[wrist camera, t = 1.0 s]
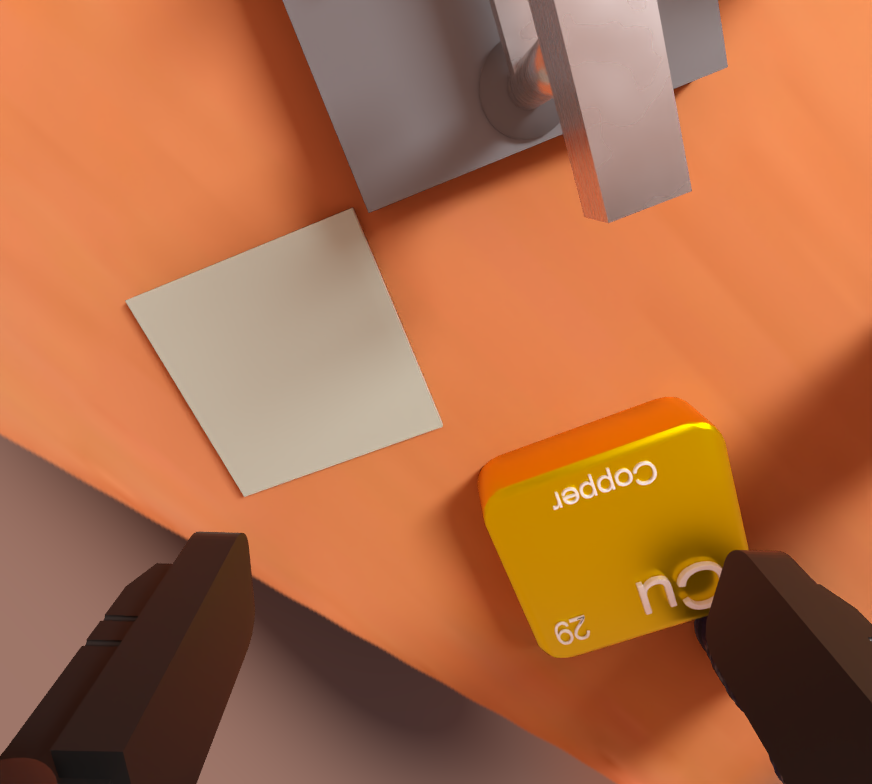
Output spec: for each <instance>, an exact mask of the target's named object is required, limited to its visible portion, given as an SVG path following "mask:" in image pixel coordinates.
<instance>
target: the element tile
mask: <svg viewBox="0 0 872 784" xmlns="http://www.w3.org/2000/svg"><path fill="white" fill-rule="evenodd" d="M477 486H478V491H479V497H480V502H481V508H482V514H483V519H484V523H485V526H486V528H487V530H488V533H489V535H490V537H491V539H492V542H493V544H494V546H495V548H496V551H497V553H498V555H499V557H500V560H501V562H502V564H503V567H504V569H505V571H506V573H507V576H508V578H509V580H510V582H511V585H512V587H513V589H514V591H515V594H516V596H517V598H518V600H519V603H520V605H521V607H522V610H523V612H524V614H525V616H526V619H527V621H528V623H529V625H530V628H531V630H532V632H533V634H534V637H535V639H536V641H537V643H538V645H539V647H540V648H541V649H542V650H543V651H544V652H546V653H547V654H548V655H550V656H553V657H555V658H569V657H575V656H579V655H582V654H585V653H588V652H592V651H595V650H598V649H601V648H605V647H608V646H611V645H614V644H618V643H621V642H624V641H627V640H631V639H634V638H637V637H640V636H644V635H647V634H650V633H653V632H657V631H660V630H663V629H666V628H670V627H673V626H676V625H679V624H683V623H686V622H689V621H692V620H696V619H699V618H702V617H705V616H708V614H709V610H710V607H711V604H712V601H713V597H714V594H715V591H716V587H717V584H718V581H719V578H720V574H721V571H722V568H723V565H724V561H725V559H726V557H727V555H728V554H729V553H730V552H731V551H733V550H749V549H748V544H747V540H746V535H745V530H744V526H743V521H742V517H741V512H740V507H739V503H738V498H737V494H736V489H735V485H734V480H733V475H732V471H731V466H730V462H729V457H728V453H727V448H726V443H725V441H724V438H723V436H722V434H721V433H720V431H719V430H718V429H717V428H716V427H715V426H714V425H713V424H712V423H711V422H710V421H708V420H707V419H706V418H705V417H704V416H703V415H701V414H700V413H699V412H698V411H697V410H696V409H694V408H693V407H692V406H691V405H690V404H689V403H687V402H686V401H684V400H681V399H679V398H677V397H663V398H659V399H654V400H652V401H649V402H646V403H643V404H641V405H638V406H635V407H632V408H630V409H627V410H624V411H621V412H618V413H616V414H613V415H610V416H607V417H605V418H602V419H599V420H596V421H594V422H591V423H588V424H585V425H583V426H580V427H577V428H574V429H571V430H569V431H566V432H563V433H560V434H558V435H555V436H552V437H549V438H547V439H544V440H541V441H538V442H536V443H533V444H530V445H527V446H525V447H522V448H519V449H516V450H513V451H511V452H508V453H505V454H502V455H500V456H497V457H496V458H494V459H492V460H490V461H489V462H488V463H487V464H486V465H484V466H483V467H482V469H481V471H480V473H479V475H478V485H477Z"/></svg>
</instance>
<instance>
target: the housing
mask: <svg viewBox="0 0 872 784" xmlns="http://www.w3.org/2000/svg"><path fill="white" fill-rule="evenodd" d="M283 3H284V5H285V8H286V10H287V13H288V15H289V18H290V20H291V23H292V25H293V28H294V30H295V33H296V35H297V37H298V40H299V42H300V45H301V47H302V50H303V52H304V55H305V57H306V60H307V62H308V65H309V67H310V69H311V72H312V74H313V77H314V79H315V82H316V84H317V87H318V89H319V92H320V94H321V97H322V99H323V101H324V104H325V106H326V109H327V111H328V114H329V116H330V119H331V121H332V124H333V126H334V129H335V131H336V134H337V136H338V138H339V141H340V143H341V146H342V148H343V151H344V153H345V156H346V158H347V161H348V163H349V166H350V168H351V170H352V173H353V175H354V178H355V180H356V183H357V185H358V188H359V190H360V193H361V195H362V198H363V200H364V203H365V205H366V207H367V210H368V212H369V213H370V212H372V211H375V210H377V209H380V208H382V207H385V206H387V205H390V204H392V203H395V202H397V201H399V200H402V199H404V198H407V197H409V196H412V195H414V194H417V193H419V192H422V191H424V190H426V189H429V188H431V187H434V186H436V185H439V184H441V183H444V182H446V181H449V180H451V179H454V178H456V177H458V176H461V175H463V174H466V173H468V172H471V171H473V170H476V169H478V168H481V167H483V166H486V165H488V164H490V163H493V162H495V161H498V160H500V159H503V158H505V157H508V156H510V155H513V154H515V153H517V152H520V151H522V150H525V149H527V148H530V147H532V146H535V145H537V144H540V143H542V142H545V141H547V140H549V139H552V138H554V137H557V136H559V135H562V134H563V133H562V129H561V125H560V121H559V117H558V113H557V109H556V106H555V102H554V98H552V99H550V100H549V101H547V102H545V103H544V104H542V105H540V106H539V107H537V108H534V109H531V110H523V109H520V108H518V107H516V106H515V105H514V104H513V103H512V102H511V100H510V98H509V96H508V93H507V79H508V76H509V74H510V73H509V70H508V66H507V62H506V59H505V55H504V52H503V48H502V45H501V41H500V38H499V34H498V31H497V27H496V24H495V20H494V17H493V13H492V10H491V6H490V2H489V0H283ZM657 4H658V9H659V15H660V20H661V25H662V31H663V36H664V42H665V47H666V53H667V58H668V64H669V69H670V74H671V80H672V85H673V89H675V88H677V87H680V86H682V85H685V84H687V83H690V82H692V81H695V80H697V79H699V78H702V77H704V76H707V75H709V74H712V73H714V72H717V71H719V70H722V69H724V68H727V67H728V65H727V58H726V51H725V45H724V38H723V31H722V24H721V17H720V11H719V4H718V0H657Z"/></svg>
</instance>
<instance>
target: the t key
mask: <svg viewBox="0 0 872 784" xmlns="http://www.w3.org/2000/svg"><path fill="white" fill-rule="evenodd" d="M489 2H490V6H491V10H492V13H493V17H494V20H495V24H496V27H497V31H498V34H499V38H500V41H501V45H502V48H503V52H504V55H505V59H506V62H507V66H508V70H509V73H510V74H509V76H508V79H507V93H508V96H509V98H510V100H511V102H512V103H513V104H514V105H515V106H516V107H518V108H520V109H523V110H531V109H534V108H537V107H539V106H540V105H542V104H544V103H545V102H547V101H549V100H550V99H552V98H554V102H555V106H556V109H557V113H558V117H559V121H560V125H561V129H562V133H563V136H564V140H565V144H566V148H567V152H568V156H569V159H570V163H571V167H572V171H573V175H574V179H575V183H576V186H577V190H578V194H579V198H580V202H581V206H582V209H583V213H584V217H586V218H590V219H594V220H598V221H602V222H606V223H610V222H612V221H615V220H618V219H620V218H623V217H626V216H628V215H631V214H633V213H636V212H639V211H641V210H644V209H646V208H649V207H652V206H654V205H657V204H659V203H662V202H665V201H667V200H670V199H672V198H675V197H678V196H680V195H683V194H685V193H688V192H691V191H692V189H691V183H690V178H689V172H688V167H687V162H686V156H685V151H684V145H683V140H682V134H681V129H680V123H679V118H678V113H677V107H676V102H675V96H674V91H673V85H672V80H671V74H670V69H669V64H668V58H667V53H666V47H665V42H664V36H663V31H662V25H661V20H660V15H659V9H658V4H657V0H489Z"/></svg>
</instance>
